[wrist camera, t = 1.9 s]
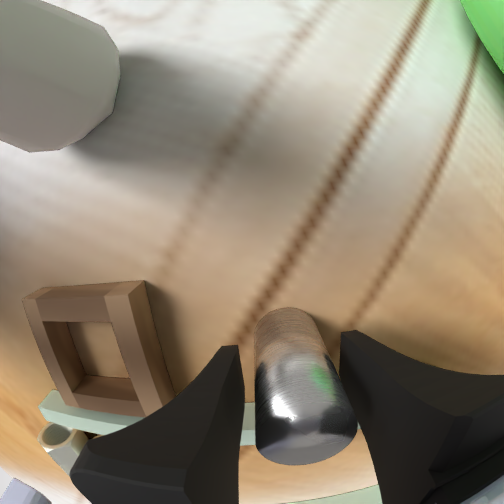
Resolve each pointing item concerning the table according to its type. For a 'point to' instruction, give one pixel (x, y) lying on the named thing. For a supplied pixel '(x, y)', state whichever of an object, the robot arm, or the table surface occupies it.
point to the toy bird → (488, 25)
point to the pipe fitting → (62, 444)
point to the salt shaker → (53, 75)
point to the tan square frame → (128, 338)
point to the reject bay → (56, 411)
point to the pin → (298, 392)
